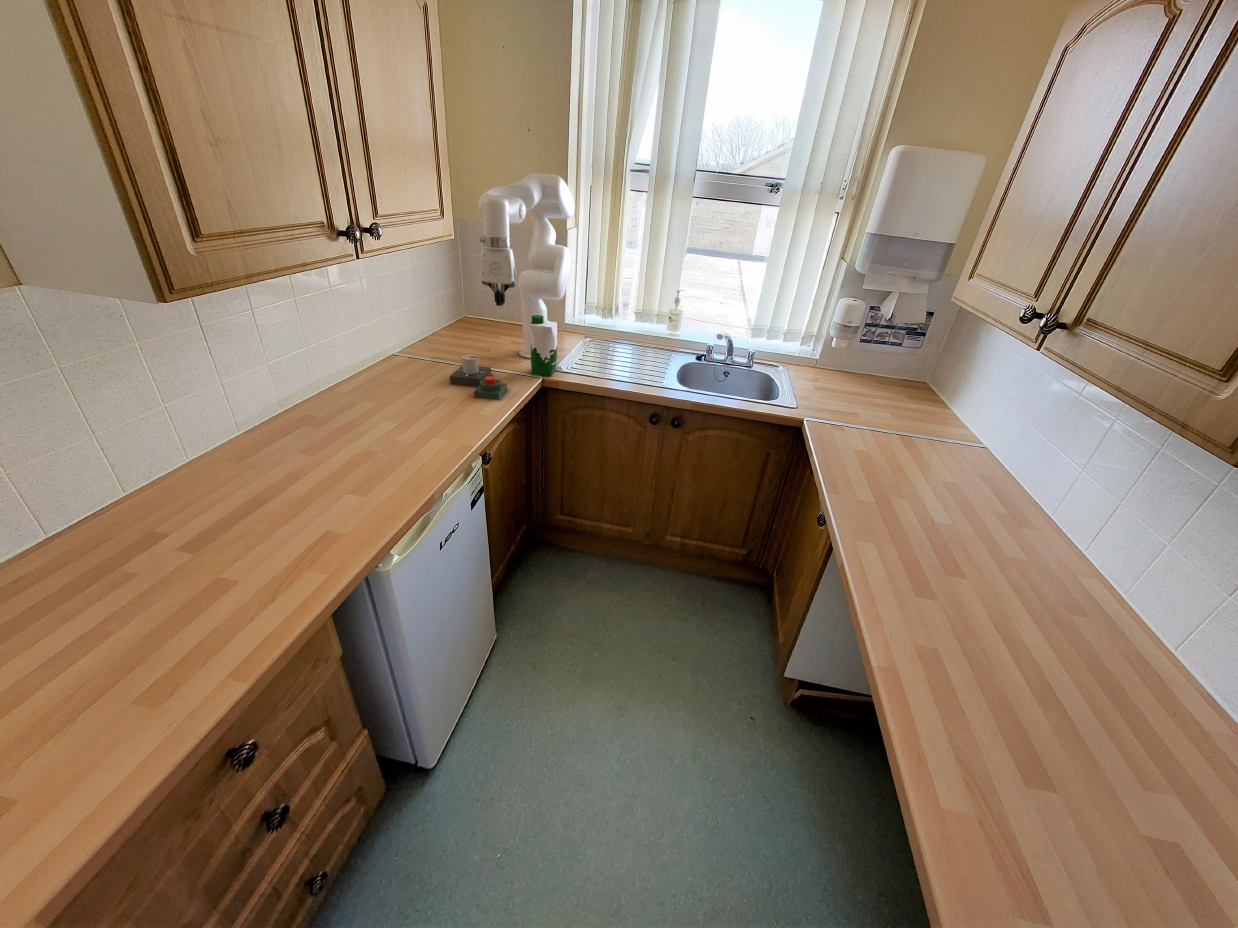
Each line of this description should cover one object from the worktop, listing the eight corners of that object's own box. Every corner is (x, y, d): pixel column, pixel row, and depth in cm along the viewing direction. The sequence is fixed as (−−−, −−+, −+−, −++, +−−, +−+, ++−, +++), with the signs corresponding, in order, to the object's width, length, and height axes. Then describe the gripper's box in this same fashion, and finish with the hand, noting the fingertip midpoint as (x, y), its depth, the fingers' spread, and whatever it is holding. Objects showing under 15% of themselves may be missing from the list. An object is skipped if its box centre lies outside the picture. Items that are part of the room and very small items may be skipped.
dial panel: (463, 372, 170) (462, 364, 169) (491, 375, 170) (490, 366, 169) (450, 384, 160) (449, 375, 158) (480, 387, 160) (479, 378, 158)
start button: (486, 380, 156) (486, 375, 155) (497, 381, 156) (497, 376, 155) (483, 384, 153) (482, 379, 152) (494, 385, 153) (494, 380, 152)
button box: (483, 387, 160) (482, 376, 158) (507, 389, 160) (506, 378, 158) (474, 397, 152) (473, 385, 150) (499, 400, 152) (498, 388, 150)
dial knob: (460, 373, 161) (459, 357, 159) (466, 368, 166) (464, 353, 163) (475, 374, 161) (474, 359, 159) (480, 369, 166) (479, 354, 163)
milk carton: (535, 367, 181) (534, 313, 171) (559, 370, 180) (559, 315, 170) (528, 375, 173) (526, 318, 163) (552, 378, 172) (552, 321, 162)
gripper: (468, 242, 143) (473, 305, 153) (518, 246, 143) (519, 309, 152) (477, 239, 150) (481, 300, 159) (524, 244, 149) (525, 304, 159)
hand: (500, 305), depth 156 cm, fingers closed
